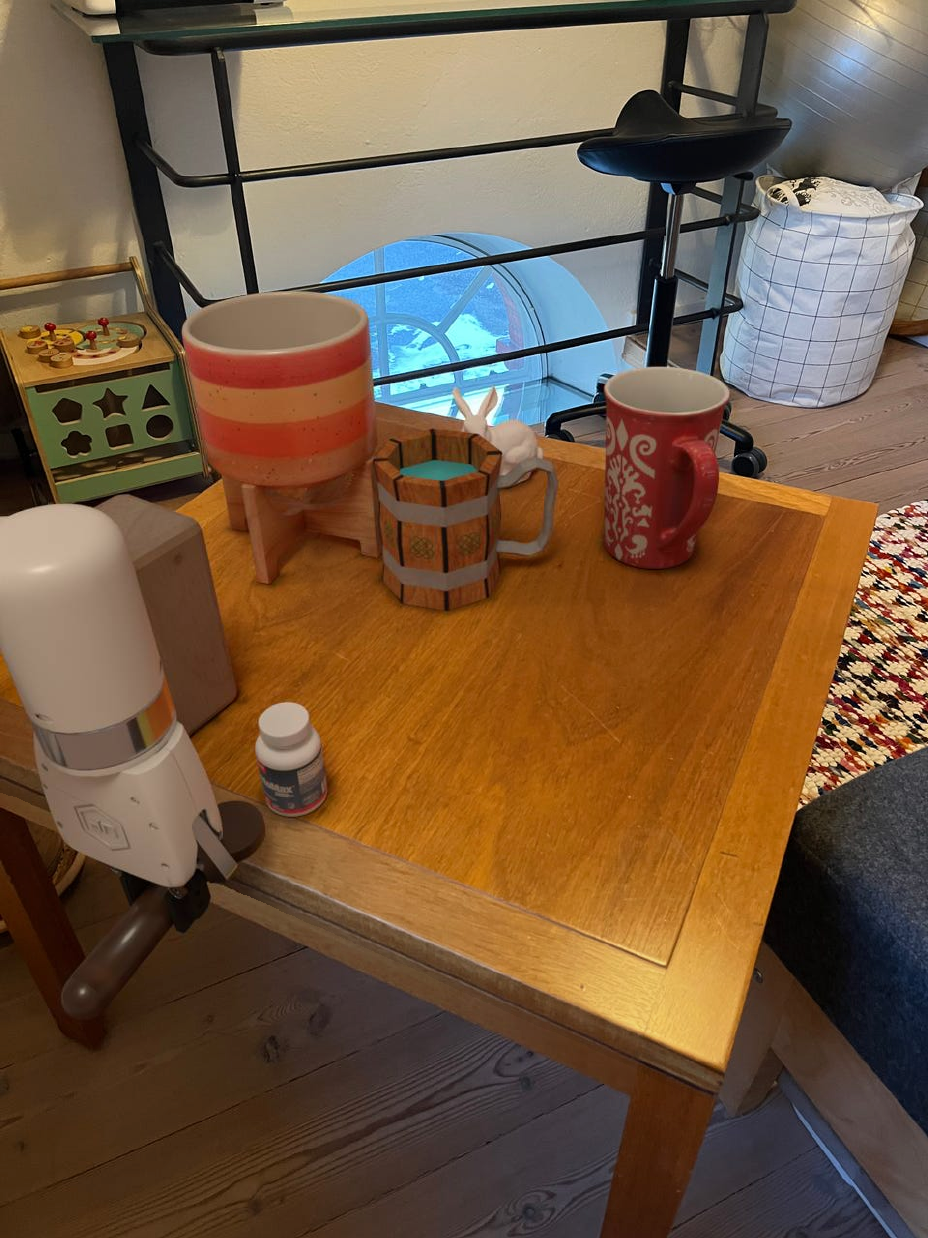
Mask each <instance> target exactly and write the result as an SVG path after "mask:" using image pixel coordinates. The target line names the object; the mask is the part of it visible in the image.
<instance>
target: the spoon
mask: <svg viewBox="0 0 928 1238" xmlns="http://www.w3.org/2000/svg"><path fill="white" fill-rule="evenodd" d="M217 806H218V809H219V813H220V817H221V822H222V829H223V837H222V839H221V840H220V842H221V843H222V845H223V846H224V847H225V849H226V850H227V851H228V852H229V854H230V855H231V856H232V858H233V859H234V860H235V862H236V863H237V864H239V863H241V862H243V861H245V860H247V859H248V858H251V857H252V856H253V855H254V854H256V853H257V851H259V849H260V848H261V847H262V845H263V843H264V842H265V838H266V834H267V830H266V824H265V820H264V815H263V813H262V811H261V810H260V809H259V808H258V807H257V806H256V805H254V804H253V803H250V802H248V801H244V800H227V801H223V802H220V803H217ZM167 891H168V888H167V886H162V885H159V884H156V883H153V882H151V883H150V884H149V885H148V886H147V888H146V889H145V890H144V891H143V892H142V893H141V895H140V896H139V897H138V898H137V899H136V900H135V902H134V903H133V904H132V905H131V906H130V905H129V907H128V908H127V910H126V911H125V912H124V913H123V915H122V916H121V917H120V918H119V919H118V920H117V921H116V922H115V924H114V925H113V926H111V928H110V930H109V931H108V932H107V933H106V935H104V937H102V939H101V940H100V941H99V942H98V943H97V944H96V946H94V948H93V949H92V950H91V952H90V953H89V954H88V955H87V957H85V959H84V960H83V961H82V962H81V964H80V965H79V966H78V967H77V968H76V969H75V970H74V972H73V973H72V974H71V975H70V977H68V979H66V981H65V982H64V984H63V987H62V989H61V993H60V1003H61V1007H62V1009H63V1011H64V1013H66V1015H67V1016H69V1017H70V1018H71V1019H74V1020H77V1021H89V1020H92V1019H94V1018H97V1017H99V1016H100V1015H101V1014H102V1013H104V1012H105V1010H107V1008H108V1007H109V1006H110V1005H111V1004H112V1002H113V1001H114V1000H115V998H116V997H117V996H118V995H119V994H120V992H121V991H122V990H123V988H124V987H125V986H126V984H127V983H129V981H130V979H131V978H132V977H133V976H134V974H136V972H137V971H138V970H139V968H140V967H141V965H143V964H144V962H145V960H147V958H148V957H149V955H150V954H151V953H152V952H153V951H154V949H155V948H156V947H157V945H159V943H160V942H161V941H162V939H163V938H164V937H165V935H166V934H167V933H168V932H169V930H170V929H171V928H172V927H173V926H174V924H173V920H172V918H171V915H170V913H169V910H168V907H167V904H166V902H165V899H164V896H165V893H166V892H167Z"/></svg>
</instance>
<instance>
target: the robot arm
mask: <svg viewBox="0 0 928 1238" xmlns="http://www.w3.org/2000/svg"><path fill="white" fill-rule="evenodd" d="M0 654H1V656H2V658H3V660H4V663H5V665H6V667H7V670H8V672H9V675H10V677H11V679H12V682H13V684H14V687H15V689H16V691H17V694H18V696H19V698H20V701H21V704H22V705H23V709H24V710H25V713H26V714H27V717H28V720H29V722H30V725H31V727H32V729H33V736H32V737H33V749H34V750H33V751H34V756H35V763H36V769H37V773H38V776H39V780H40V783H41V787H42V790H43V794H44V796H45V799H46V802H47V804H48V807H49V811H50V813H51V816H52V818H53V820H54V823H55V826H56V828H57V831H58V833H59V835H60V837H61V839H62V841H63V842H64V843H65V844H66V845H67V846H68V847H70V848H72V850H75V851H76V852H78V853H80V854H83V855H84V856H86V857H89V858H91V859H94V860H96V861H99V862H101V863H104V864H106V865H107V867H108V868H109V870H111V872H113V873H115V874H117V875H120V877H118V880H119V883H120V885H121V887H122V890H123V892H124V895H125V897H126V900H127V903H128V905H129V907H130V906H131V905H132V904H133V903H134V902H135V900H136V899H137V898H138V897H139V896H140V895H141V893H142V892H143V891H144V890H145V889H146V888H147V886H148V885H149V884H150V883H151V882H153V883H156V884H159V885H162V886H167V888H168V891H167V892H166V893H165V896H164V899H165V902H166V904H167V907H168V910H169V913H170V915H171V918H172V920H173V927H174V928H175V931H176V932H179V933H180V934H186V933H187V932H188V931H189V929H190V928H191V927H192V925H193V924H194V923H195V921H196V920H199V919H201V918H202V916H203V915H204V914H205V913H206V911H207V910H208V908H209V905H210V901H211V899H212V895H211V892H210V889H209V886H208V883H209V884H227V883H228V882H229V880H230V879H231V878H232V876H233V875H234V874H235V873H236V871H237V870H238V869H239V865H238V863H236V862H235V860H234V859H233V858H232V856H231V855H230V854H229V852H228V851H227V850H226V849H225V847H224V846H223V845H222V843H221V842H220V840H221V839H222V837H223V829H222V822H221V817H220V813H219V809H218V806H217V804H218V802H217V799H216V796H215V793H214V790H213V787H212V784H211V782H210V779H209V777H208V774H207V772H206V770H205V767H204V765H203V762H202V760H201V759H200V755H199V754H198V752H197V750H196V748H195V746H194V744H193V742H192V740H191V738H190V736H188V734H187V733H186V731H185V729H184V727H183V725H182V724H181V723H179V722H178V721H176V712H175V708H174V704H173V701H172V697H171V694H170V691H169V687H168V684H167V680H166V677H165V673H164V670H163V666H162V662H161V659H160V656H159V652H158V649H157V646H156V642H155V639H154V635H153V632H152V628H151V624H150V621H149V617H148V614H147V610H146V607H145V603H144V600H143V596H142V593H141V589H140V586H139V582H138V579H137V575H136V572H135V568H134V565H133V561H132V558H131V554H130V551H129V548H128V545H127V542H126V539H125V536H124V534H123V532H122V530H121V529H120V527H119V526H118V525H117V524H116V523H115V522H114V520H113V519H112V518H111V517H109V516H108V515H106V514H105V513H103V512H101V511H100V510H97V509H94V507H92V506H87V505H84V504H79V503H78V504H76V503H55V504H54V503H53V504H52V503H51V504H46V505H39V506H35V507H31V508H27V509H24V510H22V511H18V512H15V513H13V514H11V515H8V516H0Z"/></svg>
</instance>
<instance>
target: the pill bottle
mask: <svg viewBox="0 0 928 1238" xmlns="http://www.w3.org/2000/svg"><path fill="white" fill-rule="evenodd" d="M258 730H259V735H258V737H257V739H256V742H255V746H254V749H255V750H254V751H255V757H256V763H257V767H258V772H259V776H260V781H261V787H262V791H263V796H264V800H265V803H266V805H267V806H268V807H267V808H269V809H270V810H271V811H272V812H274V813H275V814H277V815H279V816H283V817H287V818H288V817H289V818H297V817H302V816H305V815H308V814H310V813H312V812H314V811H315V810H317V809H318V808H319V807H320V806H321V805H322V804H323V803H324V801H325V800H326V797H327V794H328V782H327V774H326V768H325V767H326V765H325V761H324V753H323V746H322V741H321V737H320V734H319V732H318V730H317V729H316V728H315V727H314V726H313V725H312V722H311V717H310V714H309V711H308V710H307V708H306V707H304V706H303V705H301V704H299V703H297V702H292V701H291V702H290V701H287V702H286V701H285V702H280V703H276V704H273V705H270V706H269V707H268V708H266V709H265V710H264V711H263V712H261V714H260V716H259V719H258Z"/></svg>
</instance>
